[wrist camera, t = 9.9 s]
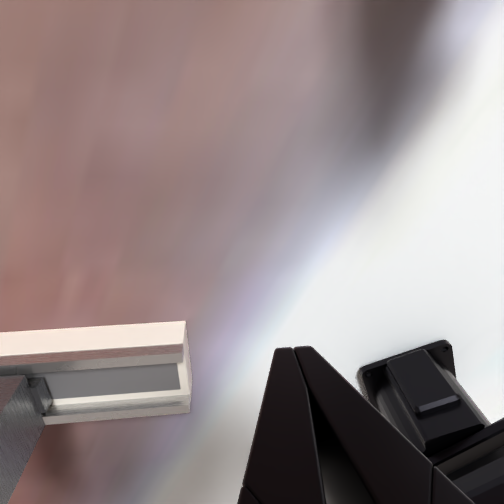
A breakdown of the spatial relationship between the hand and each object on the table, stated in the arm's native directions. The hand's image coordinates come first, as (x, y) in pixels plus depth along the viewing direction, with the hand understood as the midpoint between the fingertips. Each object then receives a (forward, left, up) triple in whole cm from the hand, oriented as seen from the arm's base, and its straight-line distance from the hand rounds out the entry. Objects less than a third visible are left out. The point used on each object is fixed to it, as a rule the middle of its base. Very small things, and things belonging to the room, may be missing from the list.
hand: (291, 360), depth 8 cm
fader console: (-6, +14, -12) cm, 19 cm away
